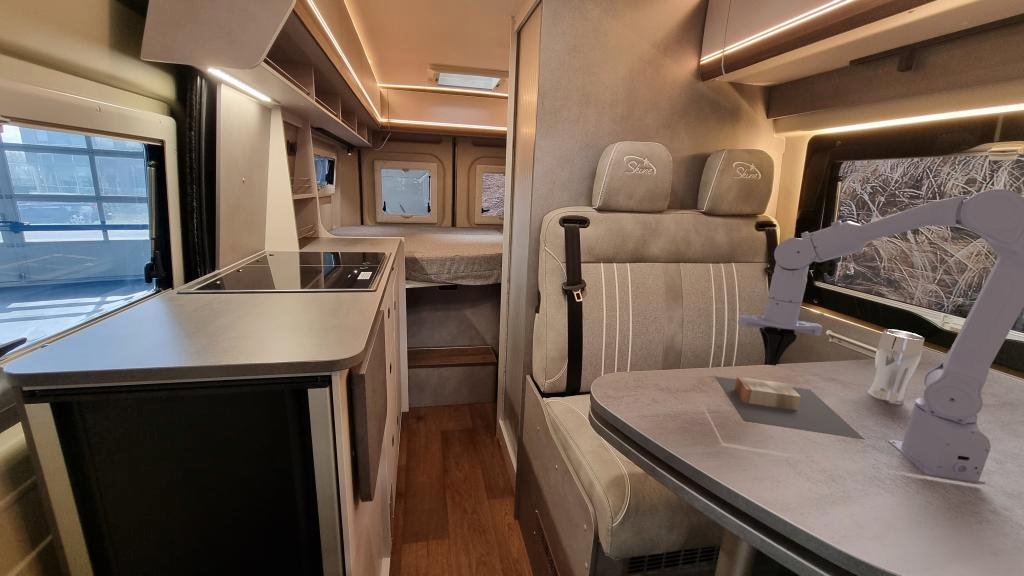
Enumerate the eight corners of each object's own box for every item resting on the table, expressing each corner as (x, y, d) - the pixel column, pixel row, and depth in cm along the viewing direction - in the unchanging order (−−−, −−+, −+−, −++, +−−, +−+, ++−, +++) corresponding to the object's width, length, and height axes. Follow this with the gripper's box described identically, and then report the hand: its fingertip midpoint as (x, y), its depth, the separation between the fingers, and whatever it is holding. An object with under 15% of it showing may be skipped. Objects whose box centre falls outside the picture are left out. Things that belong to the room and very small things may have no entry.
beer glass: (889, 392, 96) (907, 330, 93) (914, 407, 89) (935, 341, 86) (857, 389, 97) (874, 327, 93) (879, 404, 90) (899, 338, 86)
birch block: (800, 396, 83) (746, 389, 85) (797, 410, 83) (743, 402, 85) (787, 383, 89) (736, 376, 90) (784, 396, 89) (734, 389, 91)
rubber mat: (864, 441, 75) (864, 439, 74) (743, 422, 78) (744, 420, 78) (809, 391, 94) (810, 389, 94) (714, 378, 97) (715, 376, 97)
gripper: (815, 298, 85) (800, 360, 88) (738, 290, 88) (726, 351, 91) (834, 307, 78) (817, 374, 81) (750, 298, 81) (737, 364, 84)
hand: (770, 363), depth 86 cm, fingers closed
